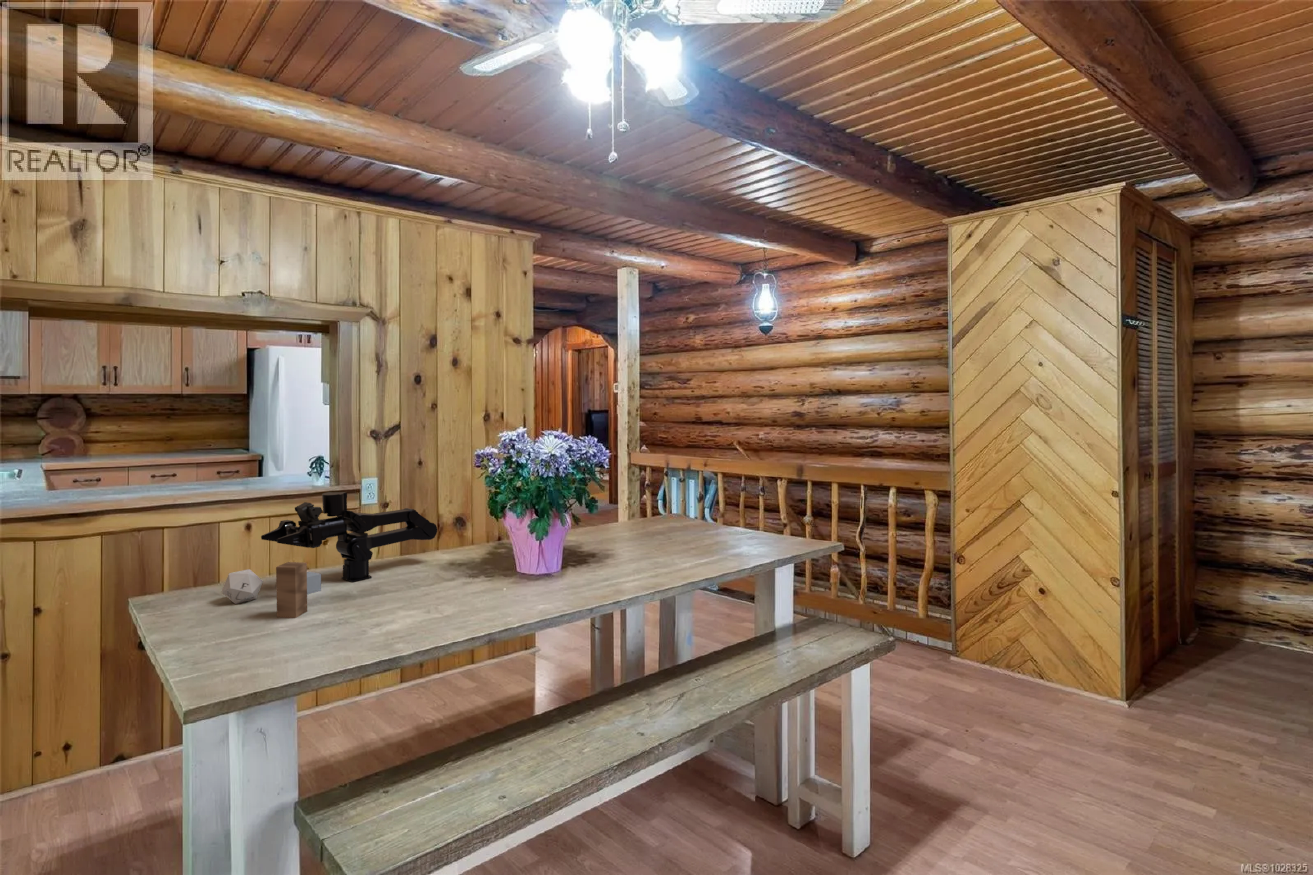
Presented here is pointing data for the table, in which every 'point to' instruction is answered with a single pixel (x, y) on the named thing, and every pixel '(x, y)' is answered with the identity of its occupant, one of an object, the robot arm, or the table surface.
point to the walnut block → (291, 589)
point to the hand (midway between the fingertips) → (269, 539)
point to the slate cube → (313, 582)
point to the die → (242, 586)
